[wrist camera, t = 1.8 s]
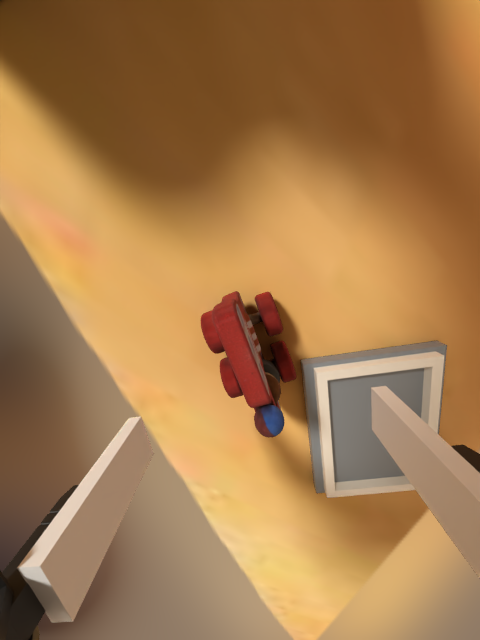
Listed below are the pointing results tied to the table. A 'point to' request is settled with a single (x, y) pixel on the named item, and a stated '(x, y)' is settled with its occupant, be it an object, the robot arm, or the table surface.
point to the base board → (366, 413)
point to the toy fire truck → (250, 357)
